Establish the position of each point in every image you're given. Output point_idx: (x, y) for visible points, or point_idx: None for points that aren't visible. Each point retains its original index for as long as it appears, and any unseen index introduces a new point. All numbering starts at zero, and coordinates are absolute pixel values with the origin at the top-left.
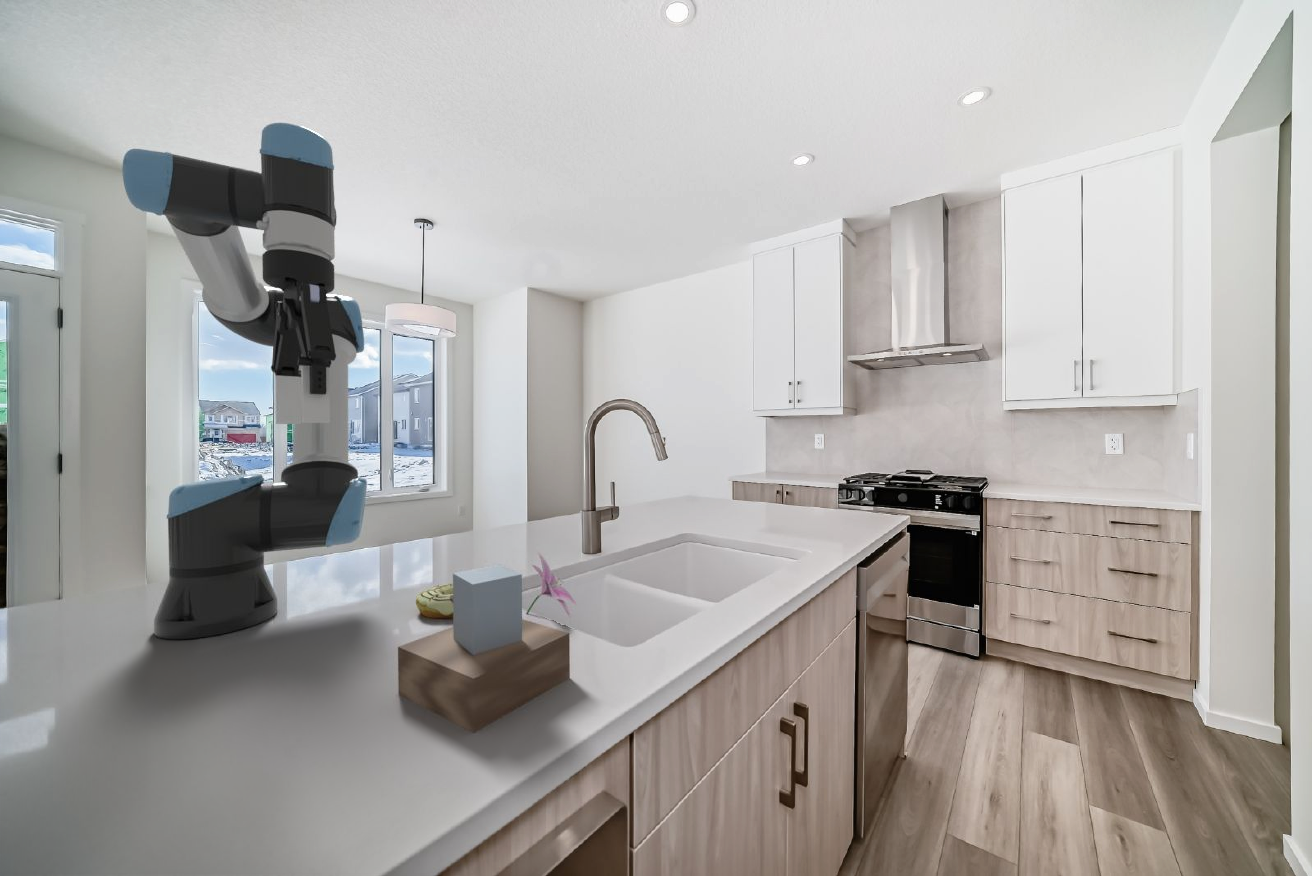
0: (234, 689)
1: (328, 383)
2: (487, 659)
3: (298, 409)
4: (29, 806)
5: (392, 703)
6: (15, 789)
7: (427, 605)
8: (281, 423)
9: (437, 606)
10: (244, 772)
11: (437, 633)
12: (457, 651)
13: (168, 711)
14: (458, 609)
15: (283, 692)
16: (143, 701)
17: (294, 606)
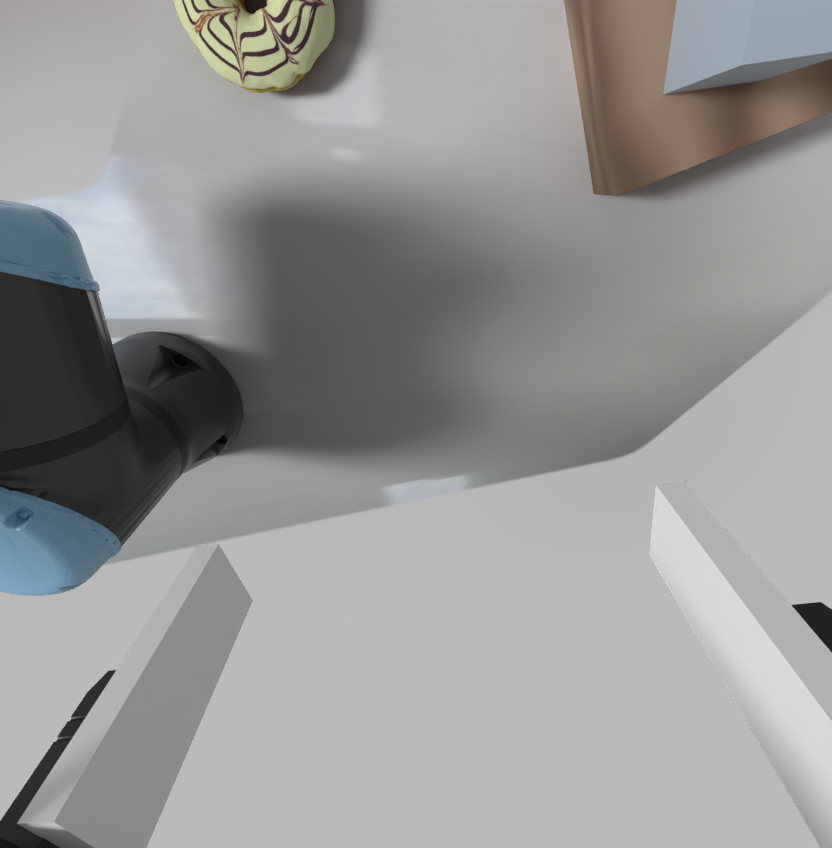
0: (441, 366)
1: (830, 657)
2: None
3: (191, 606)
4: (564, 462)
5: (614, 205)
6: (530, 474)
7: (306, 72)
8: (247, 592)
9: (319, 49)
10: (637, 348)
11: (613, 117)
12: (721, 104)
13: (457, 412)
14: (728, 77)
15: (485, 321)
16: (416, 433)
17: (129, 308)
